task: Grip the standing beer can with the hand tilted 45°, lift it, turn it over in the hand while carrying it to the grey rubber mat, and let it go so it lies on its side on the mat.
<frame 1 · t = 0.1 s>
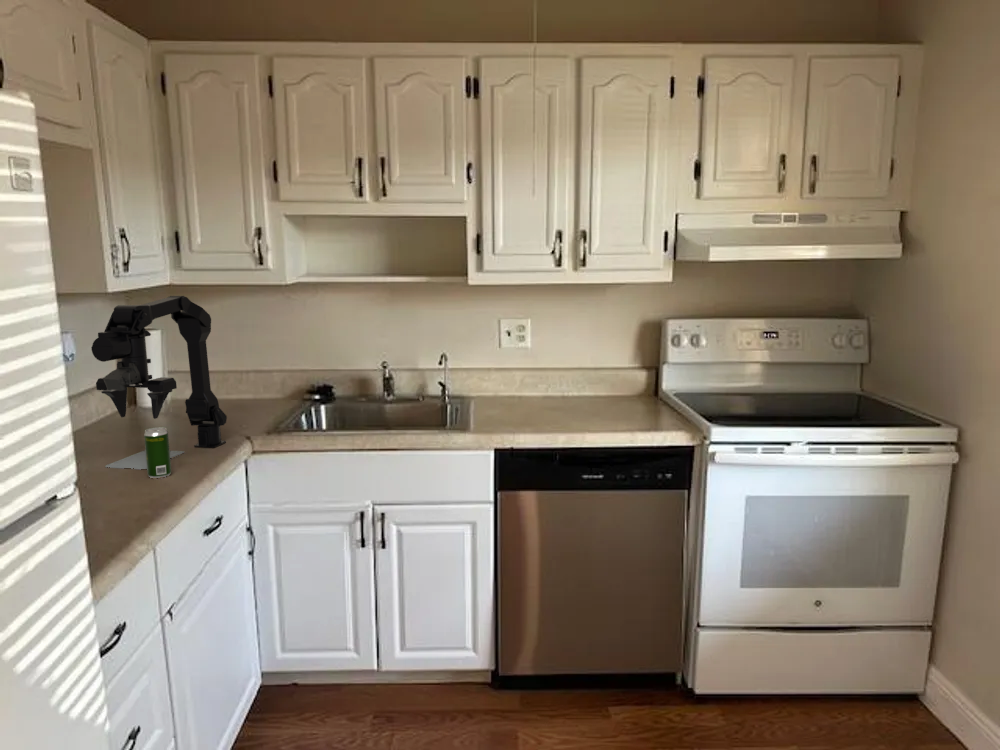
hand: (139, 417, 174), 15 cm above the worktop, tool pointing down, fingers open, 9 cm apart
beer can: (159, 476, 175), on the worktop
grey mat: (146, 459, 189), on the worktop
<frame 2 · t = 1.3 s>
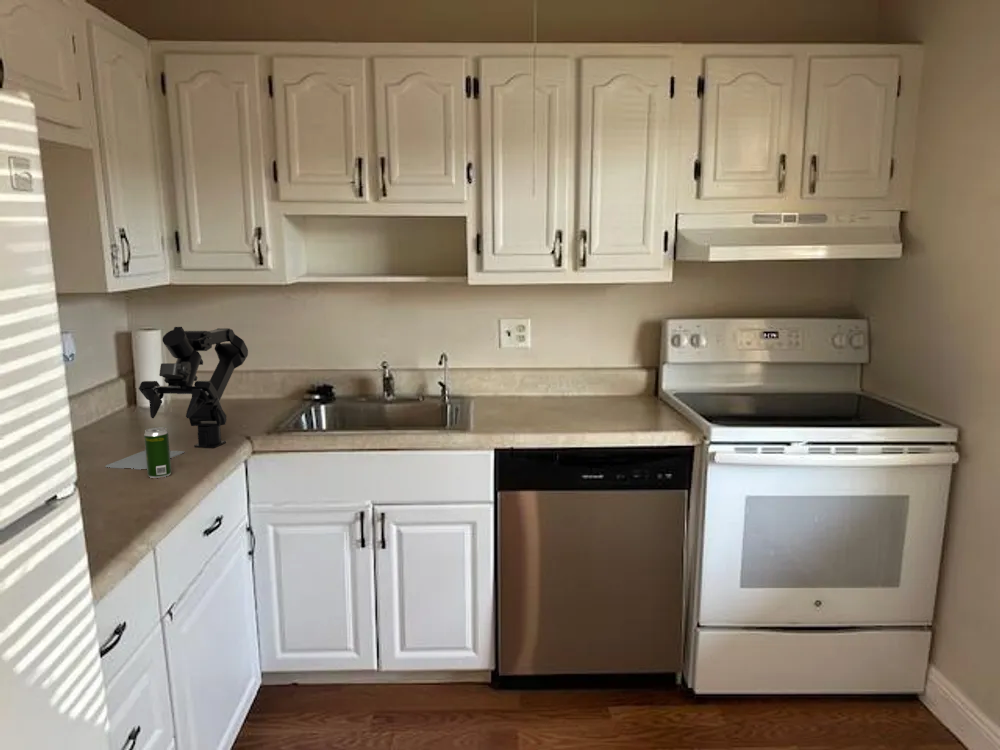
hand: (169, 417, 180), 13 cm above the worktop, tool tilted 45°, fingers open, 9 cm apart
nothing on the worktop moved.
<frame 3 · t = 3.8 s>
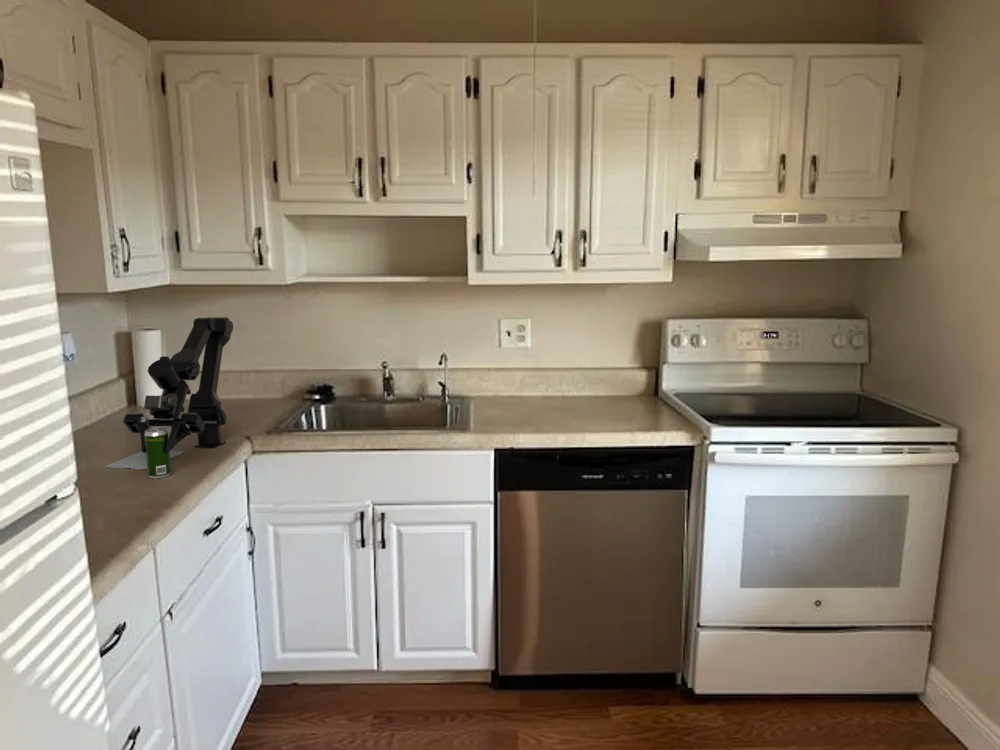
hand: (154, 452, 172), 7 cm above the worktop, tool tilted 45°, fingers closed on beer can, 5 cm apart
beer can: (159, 476, 175), on the worktop, touching gripper
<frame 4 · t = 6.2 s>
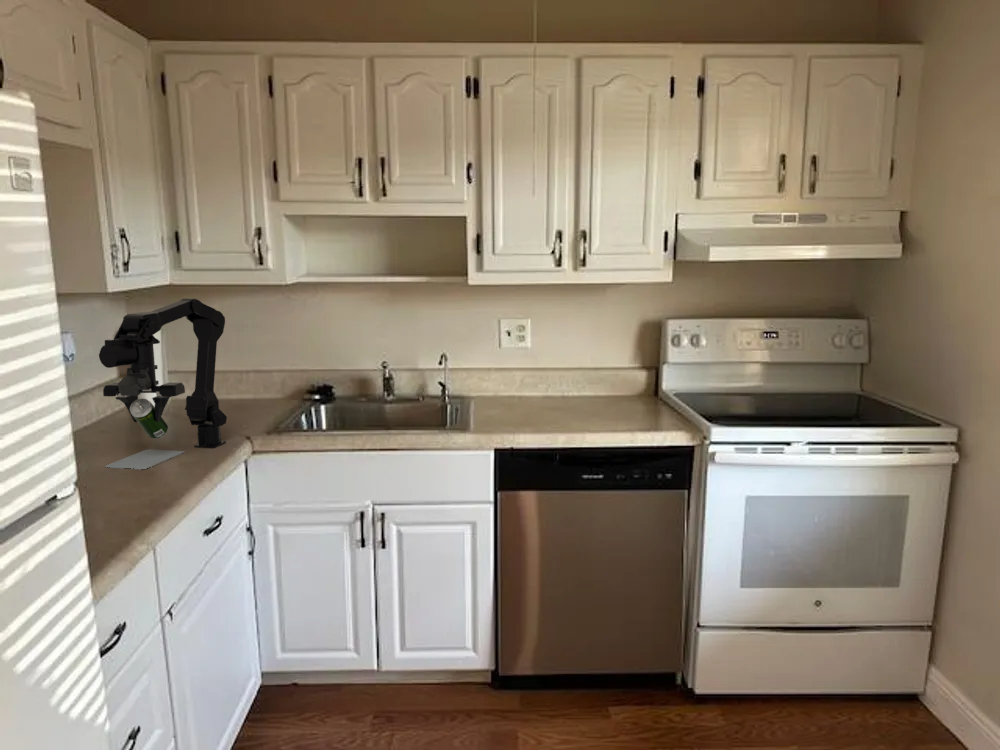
hand: (146, 422, 181), 12 cm above the worktop, tool pointing down, fingers closed on beer can, 5 cm apart
beer can: (159, 431, 187), point 8 cm above the worktop, touching gripper
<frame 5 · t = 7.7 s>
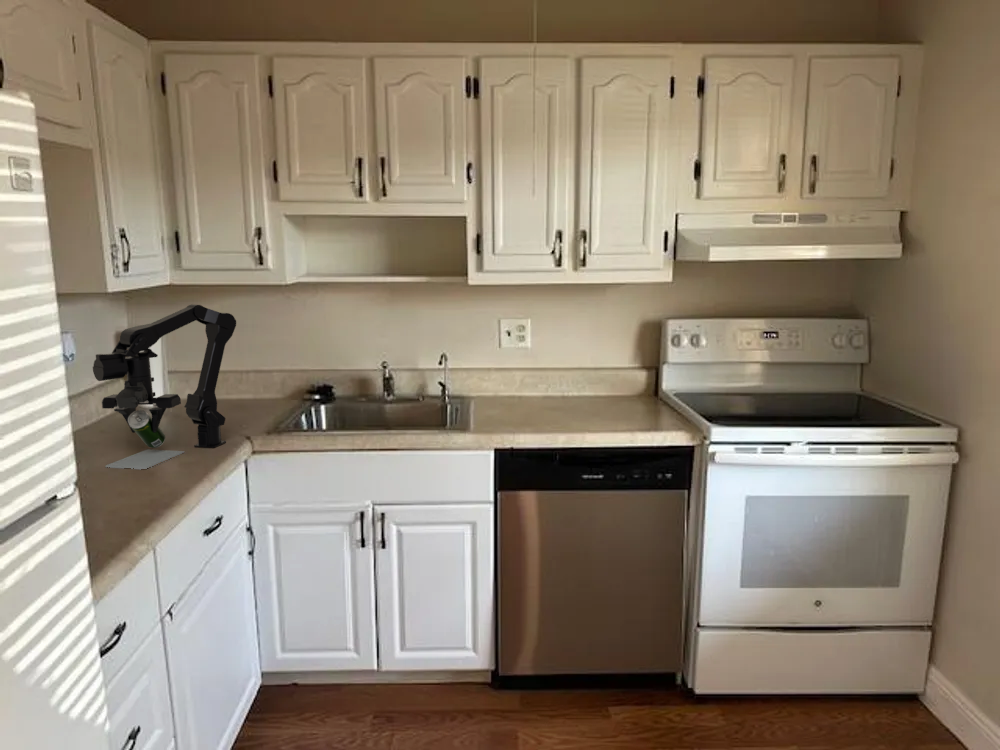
hand: (144, 432, 188), 8 cm above the worktop, tool pointing down, fingers closed on beer can, 5 cm apart
beer can: (156, 440, 194), point 4 cm above the worktop, touching gripper
when the fingers open (7 cm above the worktop, at t = 8.1 s): beer can moves 3 cm, resting on grey mat.
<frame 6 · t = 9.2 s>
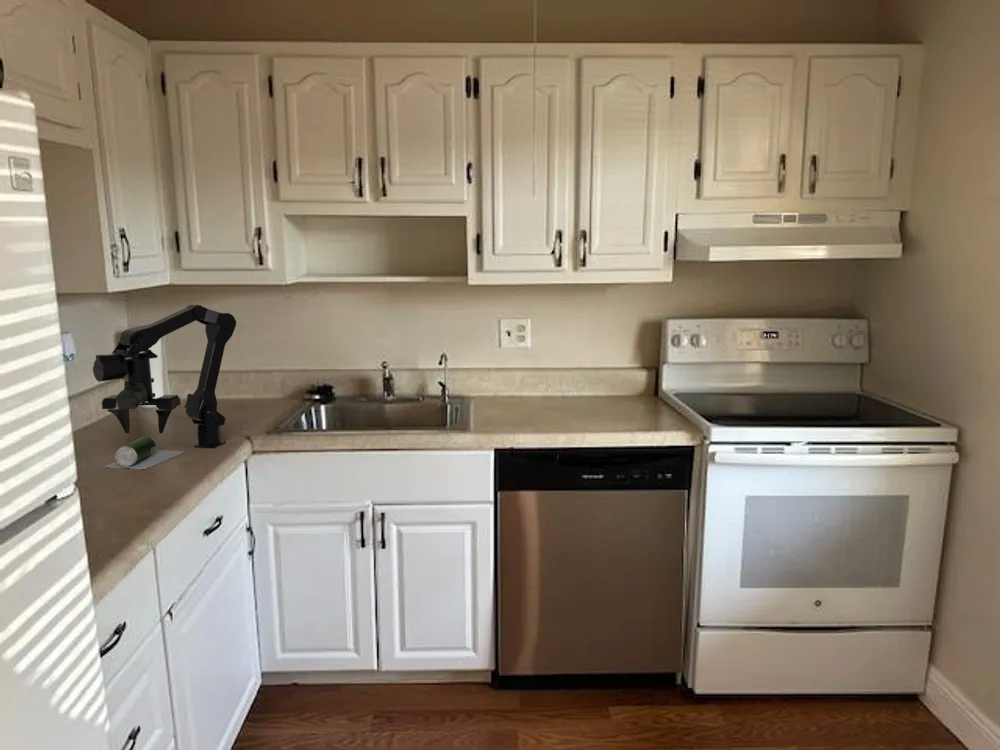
hand: (144, 433, 188), 7 cm above the worktop, tool pointing down, fingers open, 9 cm apart
beer can: (147, 445, 192), point 3 cm above the worktop, touching grey mat
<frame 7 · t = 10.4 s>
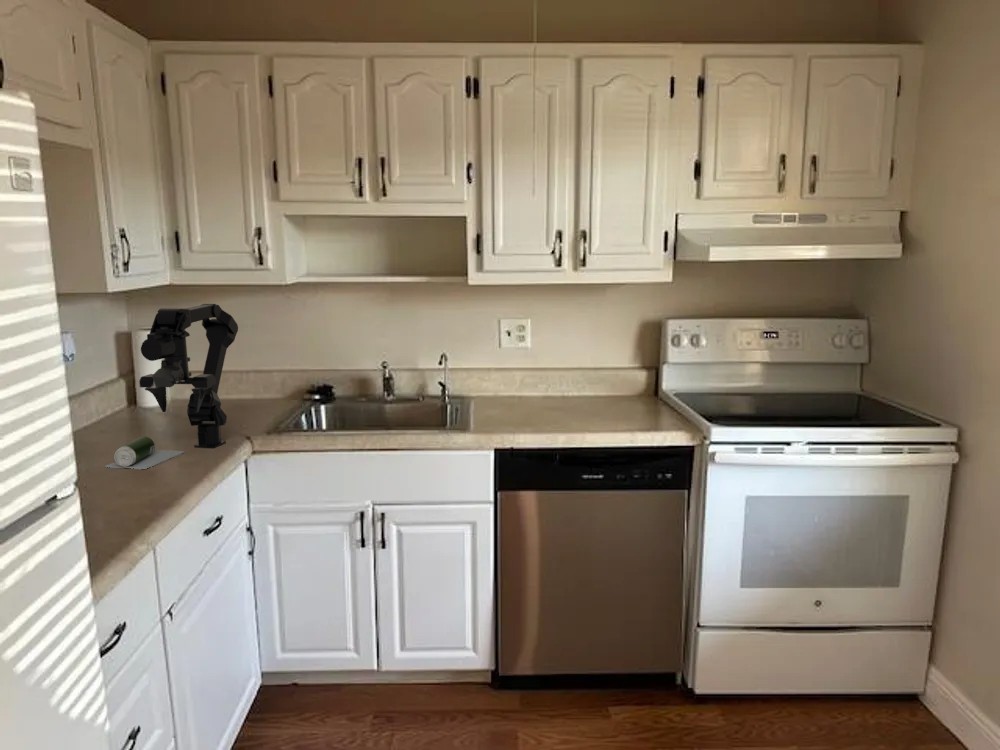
hand: (180, 411, 189), 13 cm above the worktop, tool pointing down, fingers open, 9 cm apart
nothing on the worktop moved.
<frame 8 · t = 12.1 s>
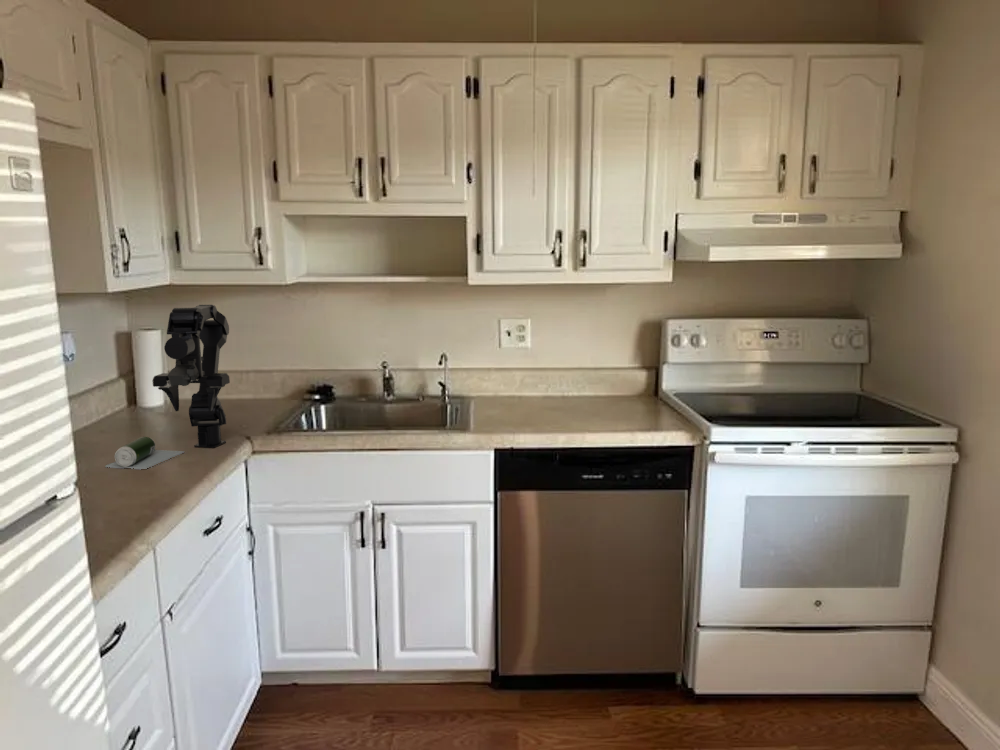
hand: (193, 411, 189), 13 cm above the worktop, tool pointing down, fingers open, 9 cm apart
nothing on the worktop moved.
at the end: beer can tilted 90°; beer can inside the target area on the grey mat (4.0 cm from its centre), point 3.2 cm above the grey mat's base; beer can touching grey mat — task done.
